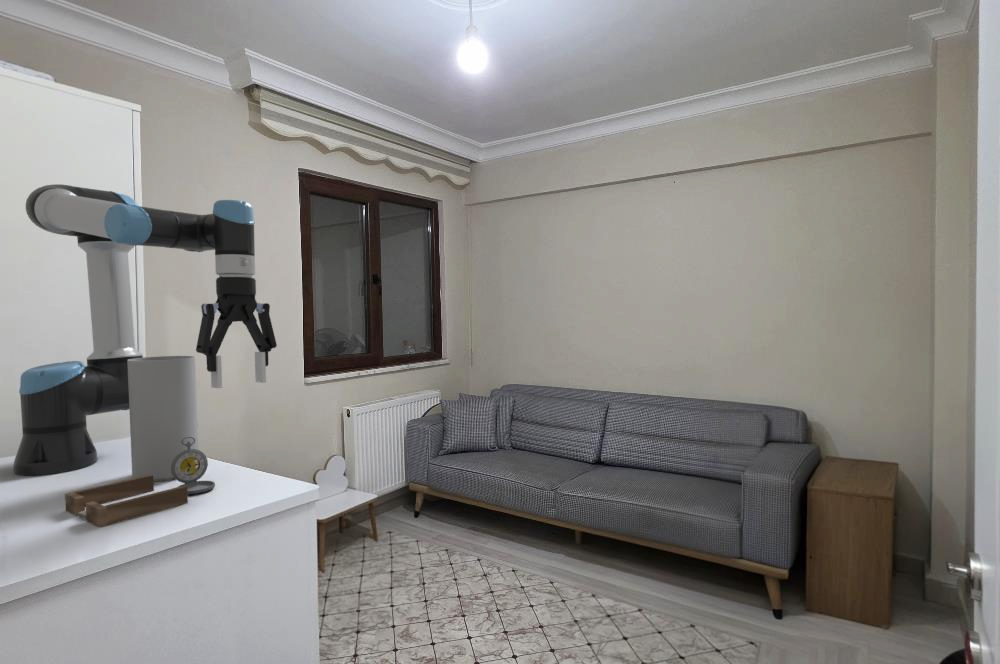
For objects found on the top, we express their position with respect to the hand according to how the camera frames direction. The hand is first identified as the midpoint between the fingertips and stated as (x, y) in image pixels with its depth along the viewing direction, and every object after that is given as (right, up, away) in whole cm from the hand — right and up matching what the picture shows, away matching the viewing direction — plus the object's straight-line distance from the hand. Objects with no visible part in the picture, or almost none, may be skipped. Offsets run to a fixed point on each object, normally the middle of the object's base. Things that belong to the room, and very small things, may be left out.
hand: (239, 384), depth 122 cm
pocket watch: (-6, -20, -7) cm, 22 cm away
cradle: (-13, -20, -17) cm, 29 cm away
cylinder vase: (-17, -20, +4) cm, 27 cm away
